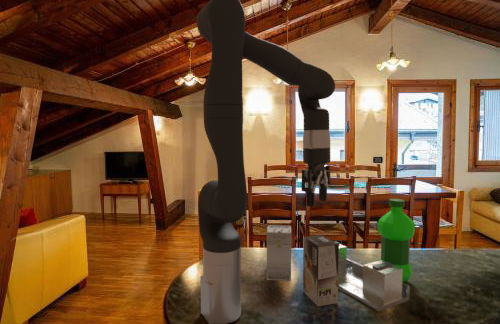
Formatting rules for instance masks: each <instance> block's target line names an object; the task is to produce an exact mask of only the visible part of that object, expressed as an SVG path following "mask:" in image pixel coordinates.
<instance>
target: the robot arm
mask: <svg viewBox="0 0 500 324" xmlns="http://www.w3.org/2000/svg"><path fill="white" fill-rule="evenodd" d="M196 28H197V31H198V33H199V35H201V37H202V38H203V39H204V40H206V41H207V42H208V43H210V44H211V61H210V67H209V70H208V75H207V78H206V79H207V80H206V84H205V89H204V95H203V106H202V107H203V127H204V131H205V135H206V138H207V139H208V142H209V144H210V145H209V146H210V147H211V150H212V152H213V153H214V154H213V155H214V158H215V160H216V168H217V180H214V179H213V180H209V181H207V182H206V183H205V184H204V185H203V186H202V187H201V189H200V192H199V194H198V198H197V215H198V228H199V235H200V238H201V241H202V255H203V256H202V266H203V267H202V268H203V271H202V272H203V274H202V275H201V276H200V313H201V315H202V316H203V317H204V319H205V320H206V321H207V323H208V324H229V323H233V322H235V321H237V320H239V318H240V317H241V314H242V298H241V297H242V281H241V280H242V264H241V263H242V254H241V253H242V243H241V242H242V239H241V234H240V233H239V231H237V230H236V229H235V227H234V226H233V224H234V223H237V222H238V221H240V220H241V219H242V218H243V216H244V215H245V213H246V210H247V206H248V191H247V190H248V188H247V180H246V171H245V160H244V139H243V138H244V134H243V133H244V132H243V131H244V129H243V128H244V102H243V101H244V97H243V59H246V60H248V61H250V62H252V63H254V64H255V65H257V66H259V67H260V68H261V69H264V70H265V71H267V72H268V73H270V74H272V75H273V76H275V77H276V78H278V79H279V80H280V81H282V82H284V83H285V84H287V85H289V86H298V88H297V95H298V101H299V104H300V108H301V111H302V115H303V135H302V150H303V151H302V162H303V163H304V164H306V165H307V168H302V170H301V192H304V193H305V199H306V204H305V205H306V206H307V207H311V208H312V207H314V206H316V205H315V204H316V202H315V201H316V197H315V191H316V188H317V187H319V188H318V200H319V201H320V202H326V201H327V200H328V188H329V186H331V182H332V180H331V166H330V163H331V134H330V113H329V112H330V111H328V109H326V108H323V107H321V103H320V100H325V99H328V98H329V97H331V96H332V95H333V94H334V93H335V89H336V83H335V79H334V78H333V77H332V75H331V74H330V73H329V72H328V71H326V70H324V69H323V68H320V67H318V66H315V65H313V64H311V63H308V62H305V61H303V60H302V59H301V58H299V57H298V56H297V55H295V54H294V53H292V52H291V51H290V50H288V49H286V48H285V47H283V46H281V45H279V44H275V43H273V42H270V41H267V40H266V39H262V38H259V37H257V36H254V35H252V34H251V33H249V32H247V31H246V29H245V28H246V15H245V10H244V6H243V5H242V3H241V0H209V1H208V2H207V3H206V4H205V5H204V6H203V7H202V8H201V9H200V11H199V12H198V14H197V16H196ZM328 164H329V165H328ZM232 223H233V224H232Z"/></svg>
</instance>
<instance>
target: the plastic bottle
mask: <svg viewBox="0 0 500 324" xmlns="http://www.w3.org/2000/svg"><path fill="white" fill-rule="evenodd" d="M388 206H389V207H390V210H389V211H388V212H387V213H386V214H384V215H383V216H382V217H380V218H379V219H378V221H377V223H376V224H377V226H376V227H377V232H378V233H379V235H380V236H381V242H380V245H381V247H380V259H379V261H380V260H381V261H384V262H390V263H392V264H393V265H394V266H397V267H399V268H402V269H403V274H402V283H405V282H407V281H408V280H410V277H411V276H412V273H413V267H412V263H411V262H410V251H411V250H410V248H411V245H410V244H411V243H410V242H411V239H412V238H413V237H414V235H415V233H416V225H415V222H414V221H413V219H412V218H410V217H409V215H407V214H406V213H405V212H403V208H404V207H405V200H404V199H401V198H389V199H388Z"/></svg>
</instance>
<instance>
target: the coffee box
mask: <svg viewBox="0 0 500 324" xmlns="http://www.w3.org/2000/svg"><path fill="white" fill-rule="evenodd" d="M302 238H303V242H302V243H303V245H302V246H303V247H302V249H303V253H302V254H303V256H302V261H303V262H302V264H303V265H302V267H303V270H302V272H303V275H302V276H303V277H302V279H303V280H302V282H303V283H302V286H303V288H302V289H303V290H302V291H303V293H304V294H305V295H306V296H307V297H308V298H309V299H310V300H311V301H312V302H313V303H314V304H315V305H316V306H317V307H323V306H328V305H329V306H330V305H335V304H337V303H338V302H339V289H338V259H339V244H337V243H336V242H337V241H336V242H335V241H334V240H333V239H331V238H328V237H326V236H324V235H323V234H317V235H309V236H303V237H302Z"/></svg>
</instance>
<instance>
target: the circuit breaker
mask: <svg viewBox="0 0 500 324" xmlns="http://www.w3.org/2000/svg"><path fill="white" fill-rule="evenodd" d="M266 229H267V230H266V281H285V282H286V281H287V282H291V281H292V226H291V225H280V224H279V225H275V224H274V225H272V224H271V225H270V224H268V225H267V228H266Z"/></svg>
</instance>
